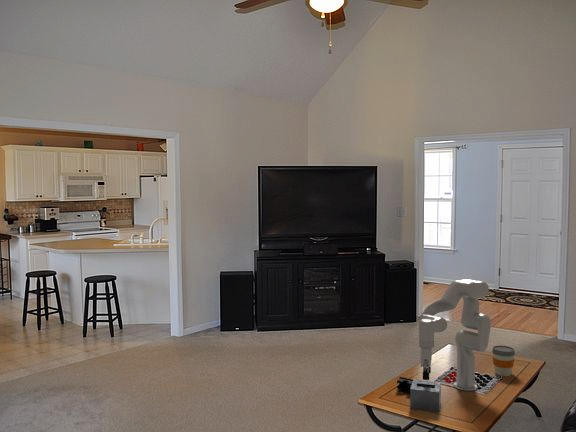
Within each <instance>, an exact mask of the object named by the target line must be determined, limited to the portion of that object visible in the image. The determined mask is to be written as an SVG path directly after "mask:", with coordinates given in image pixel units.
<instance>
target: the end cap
mask: <svg viewBox="0 0 576 432" xmlns="http://www.w3.org/2000/svg"><path fill="white" fill-rule="evenodd" d="M412 382H413V378H409V377H404V376H399V379H397V381H396V384H398V385H396V389H397V390H396V391H397V392H399V393H403V394H409V395H410V389H411V385H412Z"/></svg>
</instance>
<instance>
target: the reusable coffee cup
mask: <svg viewBox="0 0 576 432" xmlns="http://www.w3.org/2000/svg"><path fill="white" fill-rule="evenodd" d="M491 352H492V362H493V366H494V373H495V375H499V376H502V377H509V376H511V375H512V371H513V368H514V363H515V356H516V353H515V352H516V351H515V348H513V347H511V346H507V345H494V346H492V350H491Z"/></svg>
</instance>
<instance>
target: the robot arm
mask: <svg viewBox="0 0 576 432" xmlns="http://www.w3.org/2000/svg"><path fill="white" fill-rule="evenodd" d="M489 290H490V287H489V285H488V283H487V282H485V281H481V280H474V279H467V278H463V279H462V278H461V279H458V280H457V279H456V280H452V281H451V282H450V284H449V285H448V287H447V289H446V290H445V292H444V294H443V295H442V297H441V298H440V299H437V300H435V301H434V302H432V303H430V304H429V305H427V306H426V307H425V308H424V310H423V312H422V313H421V315H420V317H419V320H418V347H420V368H422V380H423V381H430V374H431V373H432V372H431V371H432V359H433V358H432V357H433V355H432V354H433V352H432V351H433V350H432V349H434V348H435V333H442V332H444V331H446V330H447V327H448V321H447V320H446V319H445V318H444V317H441V316H436V315H437V314H440V313H444V312H449V311H452V310H454V309H456V308H457V305H458V304H459V302H460V301H461V299H462V301H463V302H462V303H463V305H462V310H461V311H462V312H461V319H460V322H461V323H460V324H461V326H462V327H463V328H466V329H469V330H465V329H463V330H462V329H461V330H458V331H457V332H456V334H455V336H454V337H455V338H454V339H455V340H454V341H455V347H456V381H454V382H453V387H454V388H455V389H458V390H460V391H465V392H472V391H473V392H474V391H476V390H478V385H477V384H476V383H475V380H476V378H475V377H476V375H475V374H476V370H475V369H476V355H475V352H479V353H483V352H485V351H486V350H487V348H488V346H489V341H490V334H491V327H492V326H491V325H492V320H491V318H490V316H489V315H487V314H485V313H480V300H479V298H481V299H482V298H484V297H487V295H488V294H489V292H490V291H489ZM471 330H474V331H477V332H474V331H471ZM474 351H475V352H474Z"/></svg>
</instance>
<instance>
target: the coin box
mask: <svg viewBox="0 0 576 432" xmlns="http://www.w3.org/2000/svg"><path fill="white" fill-rule="evenodd" d="M412 379H413V378H412ZM441 386H442V383H441V382H439V381H430V380H423V379H413V382H412V385H411V389H410V394H409V395H410V396H409V398H410V401H409V403H410V405H409V406H410V408H409V409H413V410H420V411H426V412H427V411H428V412H435V413H440V408H441V403H442V400H441V399H442V397H441V396H442V395H441V394H442V392H441V391H442V390H441V389H442V387H441Z"/></svg>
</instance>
